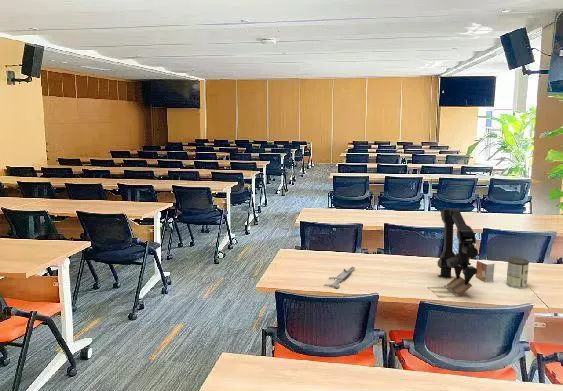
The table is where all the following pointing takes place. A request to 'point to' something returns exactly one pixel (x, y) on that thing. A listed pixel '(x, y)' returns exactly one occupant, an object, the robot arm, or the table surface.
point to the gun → (340, 278)
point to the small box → (485, 270)
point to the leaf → (458, 286)
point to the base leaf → (443, 292)
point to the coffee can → (517, 272)
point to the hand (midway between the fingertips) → (461, 281)
